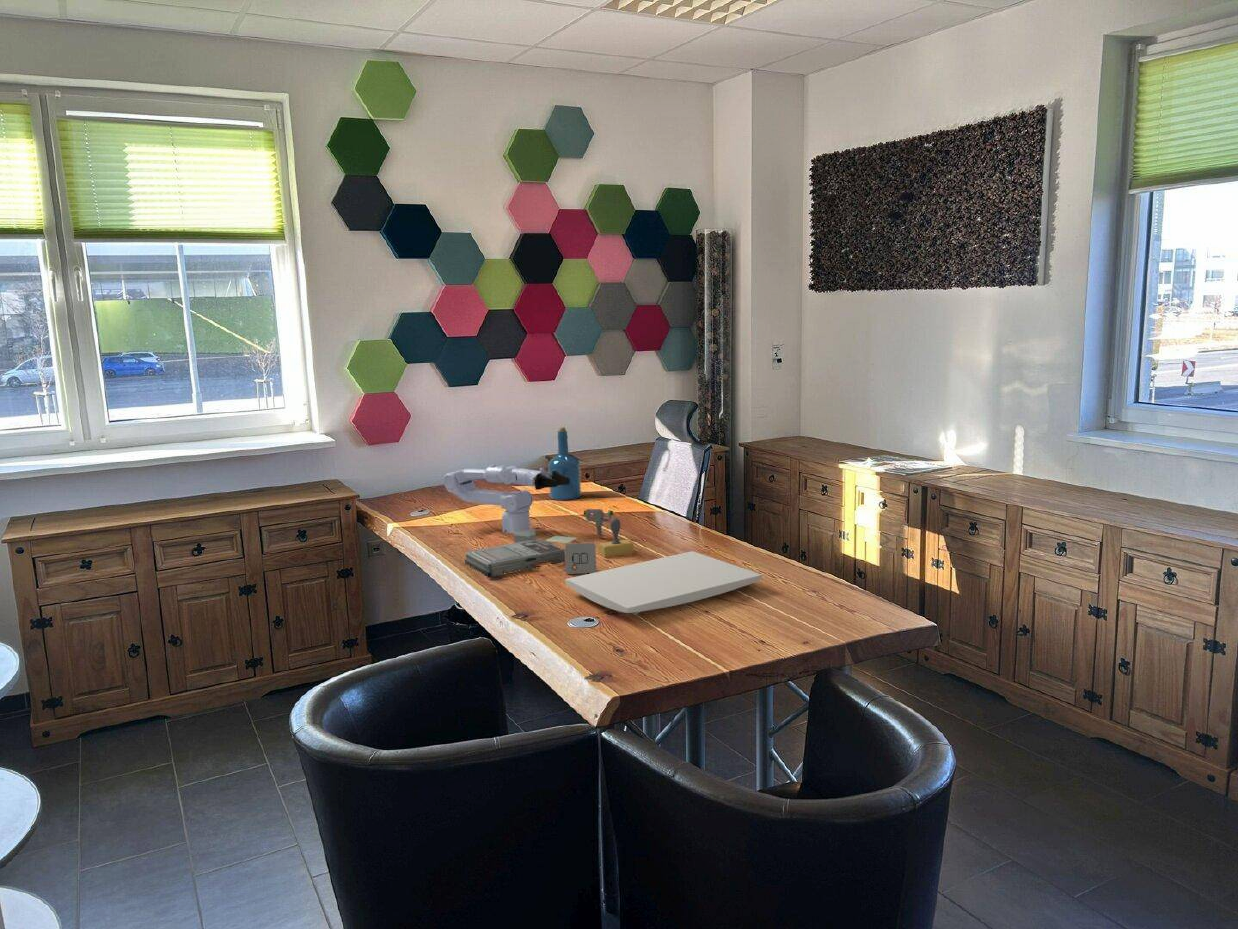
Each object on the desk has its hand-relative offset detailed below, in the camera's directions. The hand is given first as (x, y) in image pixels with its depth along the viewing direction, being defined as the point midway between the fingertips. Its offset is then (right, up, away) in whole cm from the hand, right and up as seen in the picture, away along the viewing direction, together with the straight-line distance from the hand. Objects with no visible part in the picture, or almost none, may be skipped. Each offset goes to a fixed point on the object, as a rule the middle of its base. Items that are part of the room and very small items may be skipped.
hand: (562, 482), depth 317 cm
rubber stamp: (+19, -23, -15) cm, 33 cm away
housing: (-12, -21, -5) cm, 25 cm away
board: (+32, -30, -56) cm, 71 cm away
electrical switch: (+8, -27, -34) cm, 44 cm away
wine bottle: (-3, -8, +75) cm, 75 cm away
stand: (-1, -21, 0) cm, 21 cm away
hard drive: (-14, -26, -21) cm, 36 cm away
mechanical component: (+13, -20, +6) cm, 24 cm away
